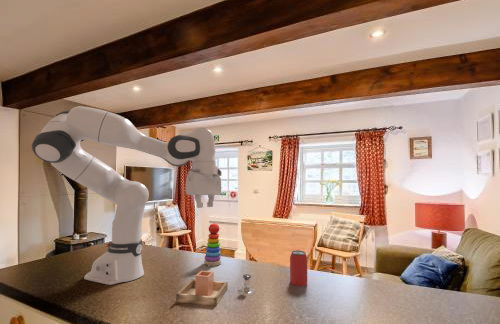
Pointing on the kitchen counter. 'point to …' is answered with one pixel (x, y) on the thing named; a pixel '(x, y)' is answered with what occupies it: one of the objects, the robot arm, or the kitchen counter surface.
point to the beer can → (298, 268)
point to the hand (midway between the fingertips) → (205, 207)
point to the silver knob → (246, 286)
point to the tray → (189, 295)
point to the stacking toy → (213, 246)
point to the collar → (204, 283)
